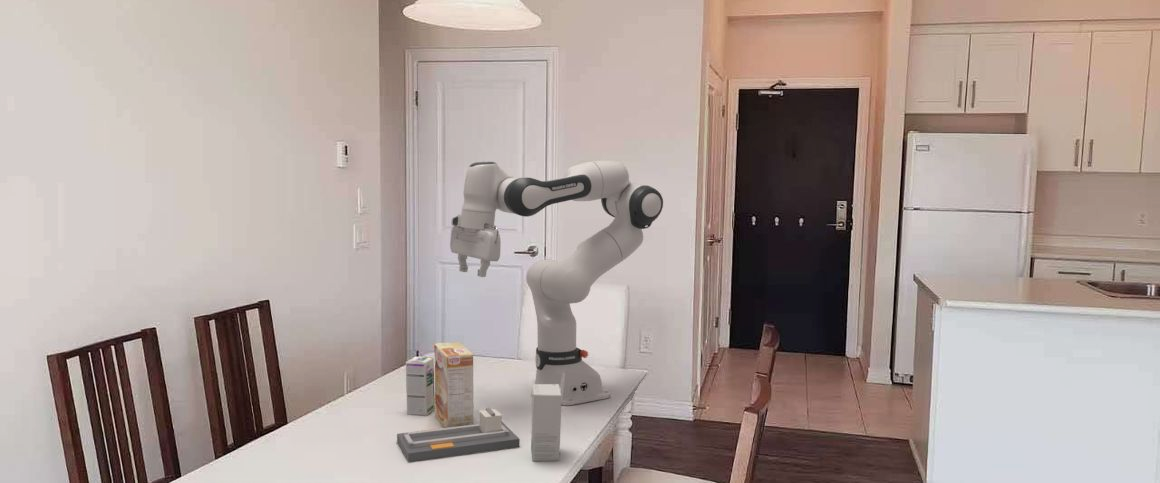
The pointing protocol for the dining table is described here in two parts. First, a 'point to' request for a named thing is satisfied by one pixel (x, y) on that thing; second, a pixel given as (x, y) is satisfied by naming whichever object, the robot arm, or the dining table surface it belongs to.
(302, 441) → the dining table surface
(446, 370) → the coffeecake box
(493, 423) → the fader tab
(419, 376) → the syrup box
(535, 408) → the skincare box
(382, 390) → the dining table surface
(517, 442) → the board
